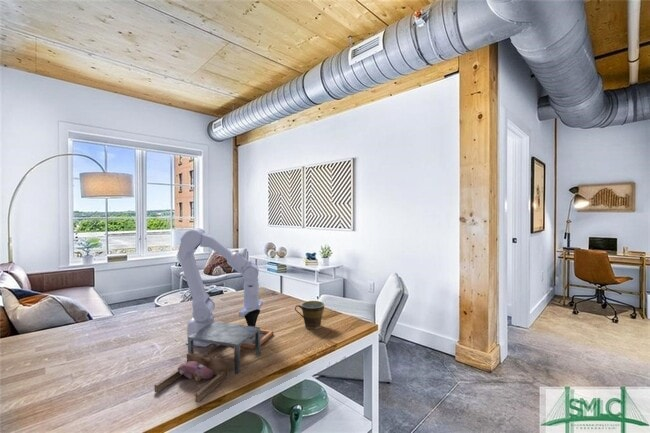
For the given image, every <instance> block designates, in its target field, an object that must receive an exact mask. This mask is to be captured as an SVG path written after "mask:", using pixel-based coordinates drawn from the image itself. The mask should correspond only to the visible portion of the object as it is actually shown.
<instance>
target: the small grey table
mask: <svg viewBox="0 0 650 433" xmlns="http://www.w3.org/2000/svg"><path fill="white" fill-rule="evenodd" d="M260 329H261V327H260V326H259V327H258V326H255V327H253V326H248V325H245V324H236V323H229V322H223V321H215V320H214V322H213V323H211V324H209V325H208V326H206V327H204V328H202V329H201V330H199V331H197V332H195V333H193V334H192V335H190V336H188V341H187V342H188V344H187V353H194V354H195V352H194V346H195V345H194V344H193V341H199V342H206V343H212V346H213V347H212V348H213V349H214V348H216V347H217V346H218V345H224V346H230V347H232V348H233V355H234V359H233V360H234V364H233V365H234V374H236V375H239V373H241V360H240V359H241V355H240V354H241V347H240V345H242V344H243V343H244V342H245V341H247V340H248V339H249V338H251V337H252V336H253V335H254V334H255V350H254V351H255V356H259V355H260V354H261V346H260Z"/></svg>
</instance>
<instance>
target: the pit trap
mask: <svg viewBox="0 0 650 433" xmlns="http://www.w3.org/2000/svg"><path fill="white" fill-rule="evenodd" d="M273 335H274V330H269V329H262V328H260V347H261V346H262V345H263V344H265V342H266V341H267V340H268V339H270V338H271V337H272V336H273ZM241 348H242V349H247V350H249V349H250V350H254V351H255V337H254V338H252V339H248V340H247V341H245V342H244V343H243V344H242V345H240V349H241Z"/></svg>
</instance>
